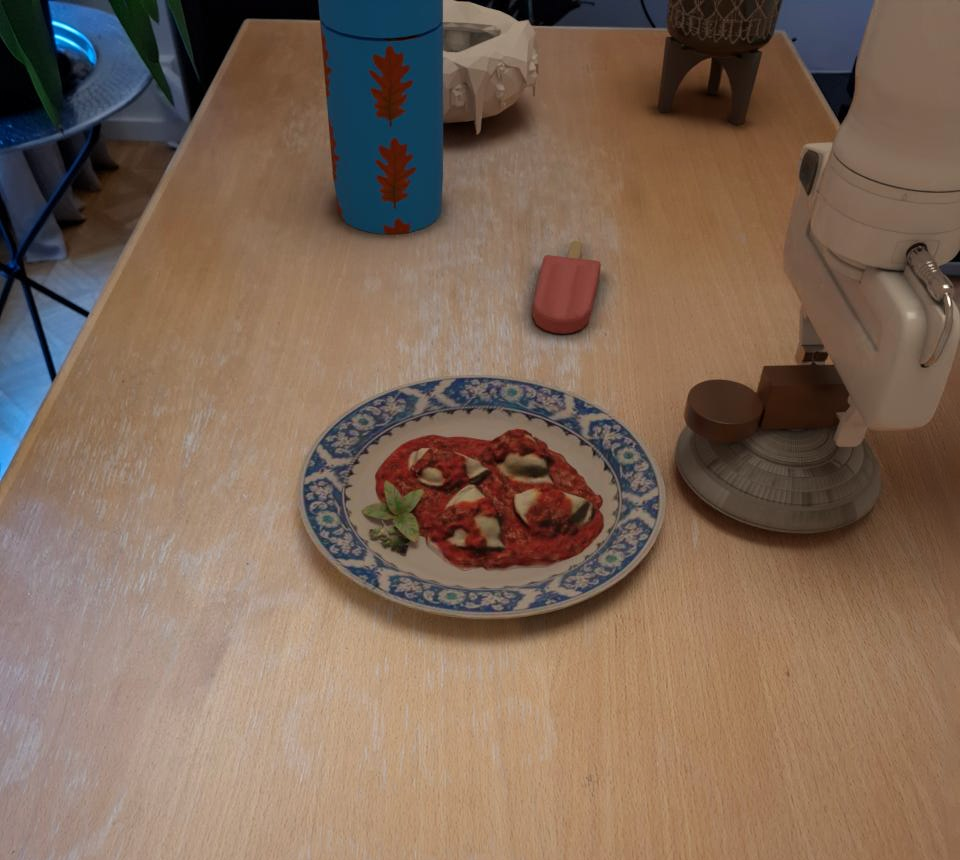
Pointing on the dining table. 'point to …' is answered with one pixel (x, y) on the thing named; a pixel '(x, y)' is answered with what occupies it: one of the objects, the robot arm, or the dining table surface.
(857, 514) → the flying saucer
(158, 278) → the dining table surface
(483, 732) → the dining table surface
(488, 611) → the ceramic plate
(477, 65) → the bowl
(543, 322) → the popsicle
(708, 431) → the brown cylinder and block
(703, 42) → the planter
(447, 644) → the dining table surface
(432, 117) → the thermos
